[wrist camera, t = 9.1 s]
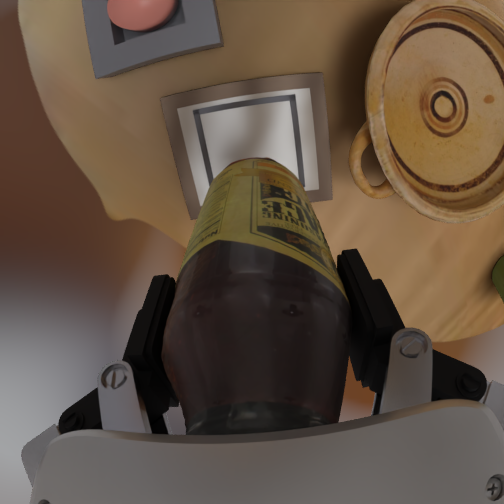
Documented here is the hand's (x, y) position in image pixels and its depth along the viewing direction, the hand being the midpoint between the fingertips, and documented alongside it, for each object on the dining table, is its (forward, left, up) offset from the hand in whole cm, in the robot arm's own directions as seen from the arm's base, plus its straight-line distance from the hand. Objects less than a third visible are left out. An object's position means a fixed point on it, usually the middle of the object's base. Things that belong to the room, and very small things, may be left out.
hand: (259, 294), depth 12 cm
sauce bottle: (0, 0, -10) cm, 10 cm away
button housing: (+7, -17, -23) cm, 29 cm away
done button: (+7, -17, -20) cm, 27 cm away
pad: (0, 0, -23) cm, 23 cm away
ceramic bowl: (-22, -4, -23) cm, 32 cm away
